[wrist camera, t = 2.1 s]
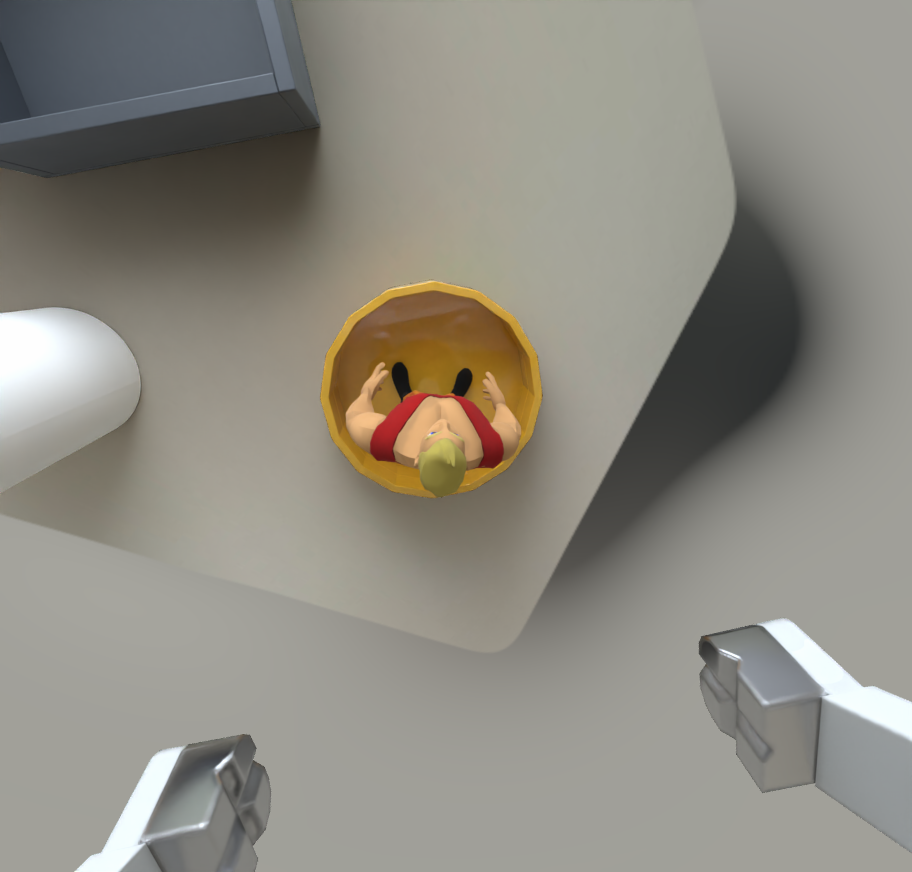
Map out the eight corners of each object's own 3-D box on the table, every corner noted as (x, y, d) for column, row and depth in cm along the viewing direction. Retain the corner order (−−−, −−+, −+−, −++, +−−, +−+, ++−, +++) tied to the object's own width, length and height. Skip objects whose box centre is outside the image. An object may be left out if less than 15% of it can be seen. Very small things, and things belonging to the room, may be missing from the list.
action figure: (505, 363, 33) (573, 437, 19) (498, 415, 35) (558, 521, 20) (359, 350, 32) (319, 418, 18) (357, 404, 34) (317, 508, 19)
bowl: (512, 263, 32) (525, 263, 28) (538, 452, 36) (553, 474, 32) (308, 302, 32) (294, 308, 28) (359, 488, 36) (352, 515, 32)
